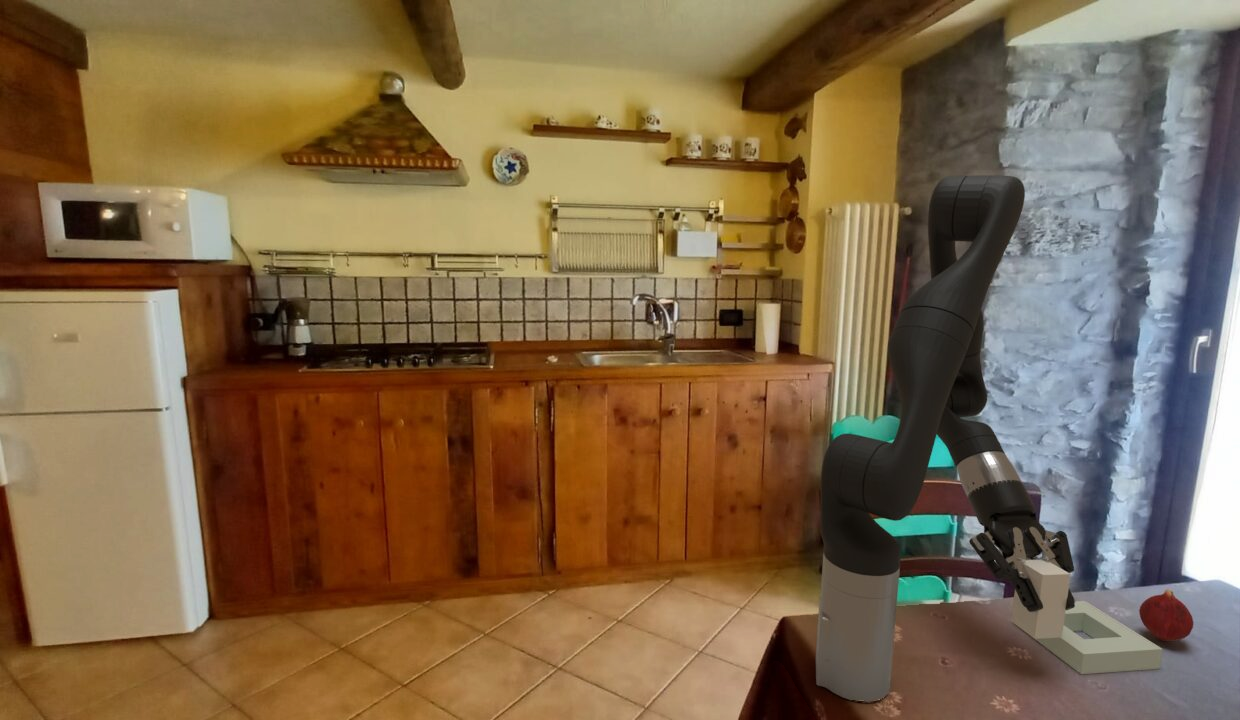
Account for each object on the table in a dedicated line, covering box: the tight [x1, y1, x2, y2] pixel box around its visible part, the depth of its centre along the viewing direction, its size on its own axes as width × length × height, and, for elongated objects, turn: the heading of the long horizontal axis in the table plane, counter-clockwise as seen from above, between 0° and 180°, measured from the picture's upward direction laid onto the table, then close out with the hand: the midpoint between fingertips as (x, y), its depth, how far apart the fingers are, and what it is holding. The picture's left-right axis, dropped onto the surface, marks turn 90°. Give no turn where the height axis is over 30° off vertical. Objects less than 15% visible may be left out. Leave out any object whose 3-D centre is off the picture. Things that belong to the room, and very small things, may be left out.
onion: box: [1138, 588, 1194, 642], centre depth 86 cm, size 6×6×8 cm
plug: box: [1010, 559, 1072, 640], centre depth 78 cm, size 4×4×9 cm
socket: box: [1034, 600, 1164, 675], centre depth 85 cm, size 12×12×3 cm
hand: (1052, 609), depth 76 cm, fingers closed on plug, 4 cm apart
